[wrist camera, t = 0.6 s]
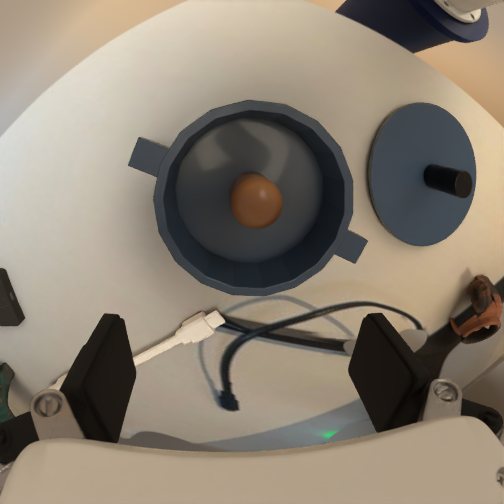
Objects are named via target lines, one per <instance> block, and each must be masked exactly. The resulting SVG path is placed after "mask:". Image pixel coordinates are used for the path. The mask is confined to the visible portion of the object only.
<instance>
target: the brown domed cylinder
mask: <svg viewBox="0 0 504 504" xmlns="http://www.w3.org/2000/svg"><path fill="white" fill-rule="evenodd" d="M230 205H231V210H232V213H233V215H234V217H235V218H236V219H237V221H238V222H239V223H241V224H242V225H244V226H246V227H248V228H252V229H261V228H265V227H268V226H269V225H271V224H273V223H274V222H275V221H276V220H277V219H278V217H279V215H280V213H281V211H282V206H283V200H282V195H281V193H280V191H279V189H278V187H277V186H276V185H275V184H274V183H273V182H271V181H270V180H269V179H268V178H266V177H265V176H264V175H262V174H261V173H258V172H253V171H251V172H245V173H242V174H240V175H239V176H237V177H236V178H235V179H234V181H233V182H232V184H231V187H230Z"/></svg>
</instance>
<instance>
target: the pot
mask: <svg viewBox="0 0 504 504" xmlns="http://www.w3.org/2000/svg"><path fill="white" fill-rule="evenodd" d="M128 166H130V167H133V168H135V169H138V170H140V171H143V172H146V173H148V174H151V175H153V176H156V177H157V181H156V186H155V191H154V196H153V198H154V199H153V201H154V208H155V214H156V220H157V225H158V231H159V234H160V236H161V237H162V239H163V241H164V243H165V244H166V246H167V248H168V250H169V251H170V253H171V255H172V256H173V258H174V260H175V261H176V262H177V263H178V264H179V265H180V266H181V267H182V268H183V269H185V270H186V271H187V272H188V273H189V274H191V275H192V276H193V277H194V278H195V279H197V280H198V281H199V282H200V283H202V284H204V285H207V286H210V287H212V288H215V289H217V290H220V291H223V292H225V293H228V294H231V295H244V296H267V295H271V294H274V293H278V292H281V291H285V290H288V289H292V288H295V287H297V286H298V285H300V284H301V283H303V282H304V281H306V280H307V279H309V278H310V277H312V276H313V275H315V274H316V273H318V272H319V271H321V270H322V269H323V268H324V267H325V265H326V264H327V263H328V262H329V260H330V259H331V258H332V257H333V255H334V254H335V255H337V256H339V257H342V258H344V259H346V260H348V261H350V262H352V263H354V264H355V263H356V262H357V260H358V258H359V256H360V255H361V253H362V251H363V249H364V247H365V246H366V244H367V242H368V241H367V240H366V239H365V238H363V237H362V236H360V235H358V234H356V233H354V232H352V231H350V230H348V227H349V224H350V221H351V218H352V215H353V179H352V176H351V173H350V171H349V168H348V165H347V162H346V160H345V157H344V154H343V152H342V149H341V147H340V146H339V145H338V144H337V142H336V141H335V140H334V139H333V138H332V137H331V135H330V134H329V133H328V132H327V131H326V130H325V129H324V127H323V126H322V125H321V124H320V123H319V122H318V121H316V120H315V119H313V118H311V117H309V116H307V115H305V114H304V113H302V112H300V111H298V110H296V109H294V108H292V107H290V106H288V105H285V104H280V103H272V102H264V101H255V100H246V101H242V102H238V103H234V104H230V105H226V106H222V107H219V108H215V109H212V110H210V111H209V112H207V113H206V114H204V115H203V116H201V117H200V118H199V119H197V120H196V121H194V122H193V123H192V124H190V125H189V126H188V127H186V128H185V129H184V130H182V131H181V132H180V133H179V135H178V136H177V138H176V139H175V141H174V142H173V144H172V145H171V147H170V148H169V147H167V146H164V145H161V144H159V143H156V142H154V141H151V140H148V139H146V138H143V137H139V138H138V140H137V143H136V145H135V148H134V150H133V153H132V156H131V158H130V161H129V164H128ZM251 171H253V172H258V173H261V174H262V175H264V176H265V177H266V178H268V179H269V180H270V181H271V182H273V183H274V184H275V185H276V186H277V187H278V189H279V191H280V193H281V195H282V200H283V206H282V211H281V213H280V215H279V217H278V219H277V220H276V221H275V222H274V223H273V224H271V225H269V226H268V227H265V228H261V229H252V228H248V227H246V226H244V225H242V224H241V223H239V222H238V221H237V219H236V218H235V217H234V215H233V213H232V210H231V205H230V187H231V184H232V182H233V181H234V179H235V178H236V177H237V176H239V175H240V174H242V173H245V172H251Z"/></svg>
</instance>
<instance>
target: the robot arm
mask: <svg viewBox="0 0 504 504" xmlns="http://www.w3.org/2000/svg"><path fill="white" fill-rule="evenodd" d="M433 1H434V2H435V3H436V4H437V5H438V6H439V7H440V8H442V9H443V10H444V11H445V12H446V13H448V14H449V15H450V16H452V17H454V18H455V19H457V20H459V21H461V22H465V23H472V22H475V21H477V20H478V19H479V17H480V14H481V8H484V7H487V6H491V5H494V4H498V3H502V2H504V0H433ZM348 372H349V375H350V377H351V379H352V381H353V383H354V385H355V388H356V390H357V392H358V394H359V396H360V398H361V400H362V402H363V404H364V406H365V408H366V410H367V413H368V415H369V417H370V419H371V421H372V423H373V425H374V427H375V430H376V431H377V433H376V434H372V435H368V436H364V437H359V438H354V439H350V440H344V441H339V442H333V443H327V444H321V445H314V446H307V447H299V448H291V449H280V450H268V451H251V452H192V451H176V450H164V449H154V448H145V447H136V446H128V445H121V444H116V443H117V442H118V440H119V436H120V432H121V429H122V425H123V421H124V417H125V414H126V410H127V406H128V403H129V399H130V396H131V392H132V389H133V386H134V382H135V379H136V368H135V364H134V360H133V356H132V352H131V348H130V344H129V340H128V335H127V331H126V326H125V321H124V319H123V318H120V316H119V315H118V314H106V313H105V314H104V315H103V316H102V318H101V319H100V321H99V323H98V324H97V326H96V328H95V329H94V331H93V333H92V335H91V336H90V338H89V340H88V342H87V343H86V345H84V346H83V347H82V349H81V350H80V352H79V354H78V356H77V357H76V359H75V361H74V363H73V365H72V366H71V368H70V370H69V372H68V374H67V376H66V378H65V380H64V382H63V383H62V385H61V387H60V389H59V390H56V389H45V390H42V391H40V392H38V393H37V394H36V395H34V397H33V398H32V400H31V402H30V411H29V412H27V413H24V414H22V415H19V416H17V417H14V418H12V419H9V420H7V421H4V422H2V423H0V504H504V425H503V420H502V417H501V415H500V414H499V413H498V412H497V411H496V410H495V409H492V408H490V407H487V406H484V405H480V404H478V403H475V402H471V401H469V400H465V399H462V391H461V389H460V387H459V386H458V385H457V384H456V383H455V382H453V381H452V380H449V379H445V378H438V379H435V380H434V381H433V382H432V381H431V380H430V377H431V375H430V373H429V372H428V371H427V369H426V368H425V367H424V365H423V364H422V363H421V361H420V360H419V359H418V357H417V356H416V355H415V354H414V352H413V351H412V350H411V349H410V347H409V346H408V345H407V343H406V342H405V341H404V340H403V338H402V337H401V336H400V335H399V333H398V332H397V331H396V330H395V328H394V327H393V326H392V325H391V323H390V322H389V321H388V320H387V318H386V317H385V316H384V315H383V314H382V313H371V314H368V315H367V316H366V317H365V318H363V320H362V324H361V327H360V331H359V334H358V338H357V341H356V344H355V348H354V351H353V354H352V357H351V360H350V364H349V367H348Z"/></svg>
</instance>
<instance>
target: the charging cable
mask: <svg viewBox="0 0 504 504" xmlns="http://www.w3.org/2000/svg"><path fill="white" fill-rule="evenodd" d="M223 323H225V320H224V319H223V317H222V316H221V315H220V314H219V312H218V311H217V310H215V311H214V312H212V313H210V314H208V315H206V314H205V313H204V312H203V311H202V312H200V313H198V314H196V315H195V316H193V317H191V318H189V319H188V320H186V321H184V322H183V323H182V328H180V329H178V330H176V335H175V336H173V337H171V338H169V339H167V340H165V341H163V342H162V343H160V344H158V345H156V346H154V347H152V348H150V349H148V350H146V351H145V352H143V353H141V354H139V355H137V356H135V357H133V360H134V364H135V366H136V365H138V364H140V363H142V362H144V361H146V360H148V359H150V358H152V357H154V356H156V355H158V354H160V353H162V352H164V351H166V350H168V349H170V348H172V347H173V346H175V345H177V344H179V343H181V342H183V344H187V343H189V342H191V341H192V342H193V343H197V342H199V341H201V340H203V339H205V338H207V337H209V336H211V335H213V334H214V333H215V328H216V327H218V326H219V325H221V324H223ZM67 374H68V373H66V374H64V375H63V376H61V377H59V378H58V380H57V382H56V384H54V385H52V386H50V387H48V388H47V389H56V390H59V389H60V387H61V385H62V383H63V382H64V380H65V378H66V376H67Z"/></svg>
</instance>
